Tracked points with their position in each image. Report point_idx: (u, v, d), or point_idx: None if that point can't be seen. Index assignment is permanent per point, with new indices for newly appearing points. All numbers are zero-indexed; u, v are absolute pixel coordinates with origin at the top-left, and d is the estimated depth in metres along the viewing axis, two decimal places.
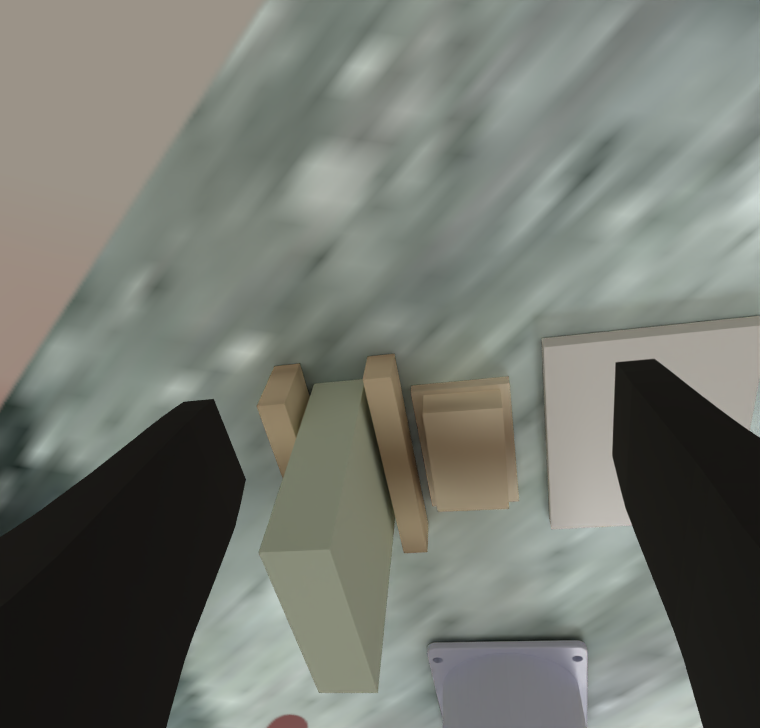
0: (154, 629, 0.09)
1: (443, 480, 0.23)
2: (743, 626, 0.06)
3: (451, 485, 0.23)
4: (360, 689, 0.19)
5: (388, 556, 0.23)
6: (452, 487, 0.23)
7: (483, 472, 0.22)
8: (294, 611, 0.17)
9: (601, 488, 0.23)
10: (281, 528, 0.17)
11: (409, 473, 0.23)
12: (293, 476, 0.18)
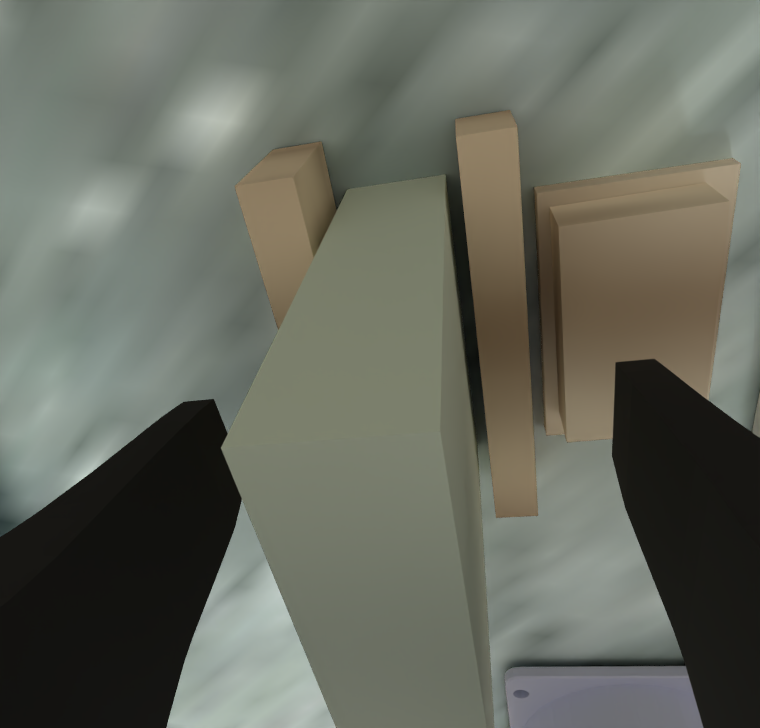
0: (154, 629, 0.09)
1: (584, 378, 0.12)
2: (743, 626, 0.06)
3: (599, 387, 0.12)
4: None
5: (481, 518, 0.13)
6: (600, 390, 0.12)
7: (665, 356, 0.12)
8: (320, 622, 0.07)
9: None
10: (288, 392, 0.06)
11: (525, 359, 0.12)
12: (315, 300, 0.08)
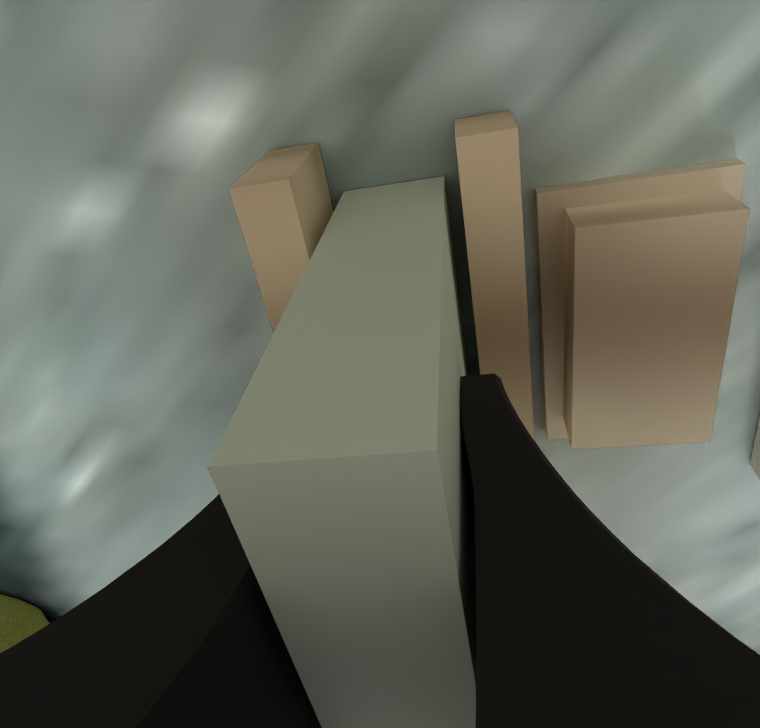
0: None
1: (593, 383, 0.12)
2: None
3: (607, 394, 0.12)
4: None
5: None
6: (608, 397, 0.12)
7: (676, 364, 0.12)
8: (313, 643, 0.06)
9: None
10: (279, 406, 0.06)
11: (526, 364, 0.12)
12: (309, 307, 0.08)
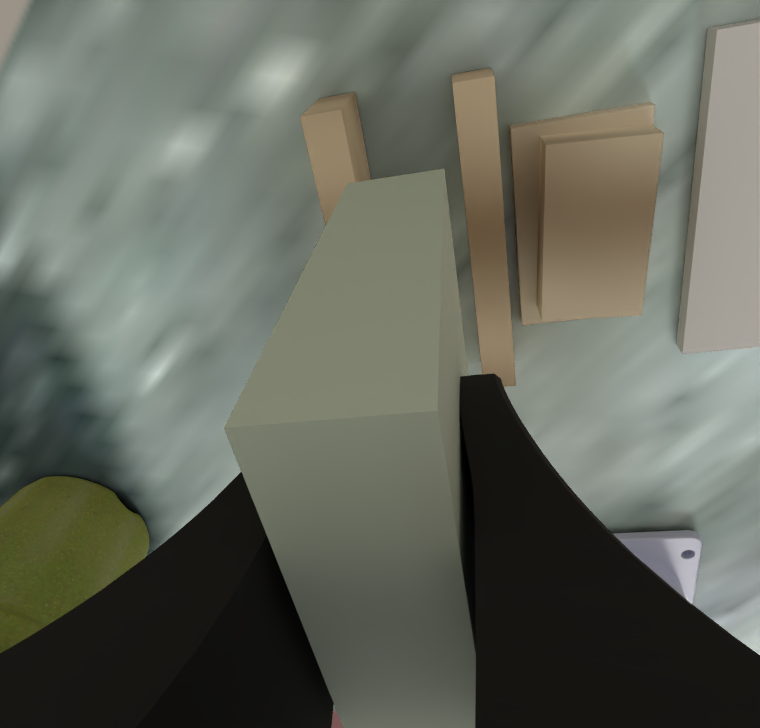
0: None
1: (557, 267, 0.17)
2: None
3: (567, 275, 0.17)
4: None
5: None
6: (568, 278, 0.17)
7: (616, 251, 0.16)
8: (320, 602, 0.07)
9: None
10: (290, 375, 0.06)
11: (503, 253, 0.16)
12: (316, 288, 0.08)
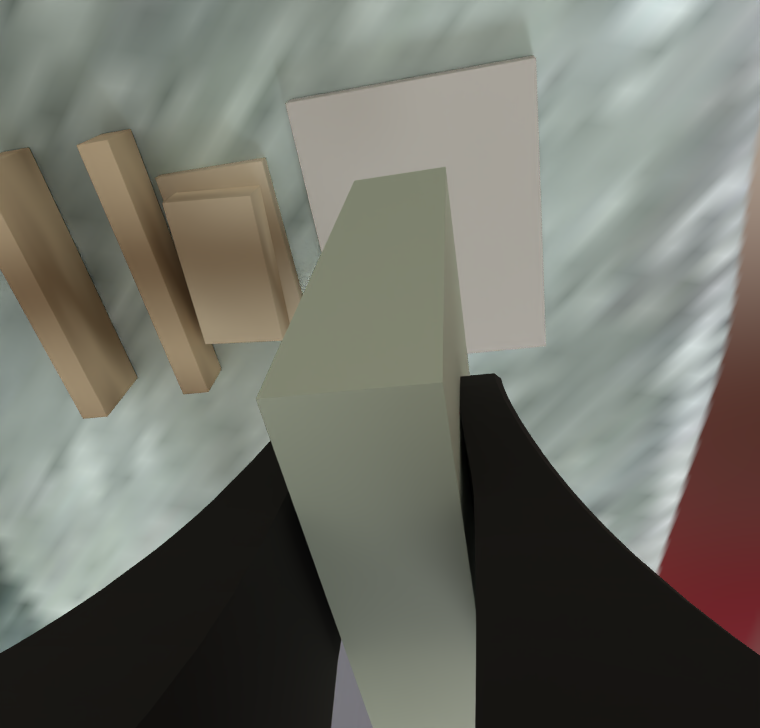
0: (319, 626, 0.08)
1: (203, 300, 0.20)
2: None
3: (213, 307, 0.20)
4: (458, 725, 0.10)
5: None
6: (214, 309, 0.20)
7: (245, 288, 0.19)
8: (337, 558, 0.08)
9: None
10: (311, 354, 0.07)
11: (161, 281, 0.20)
12: (330, 278, 0.09)
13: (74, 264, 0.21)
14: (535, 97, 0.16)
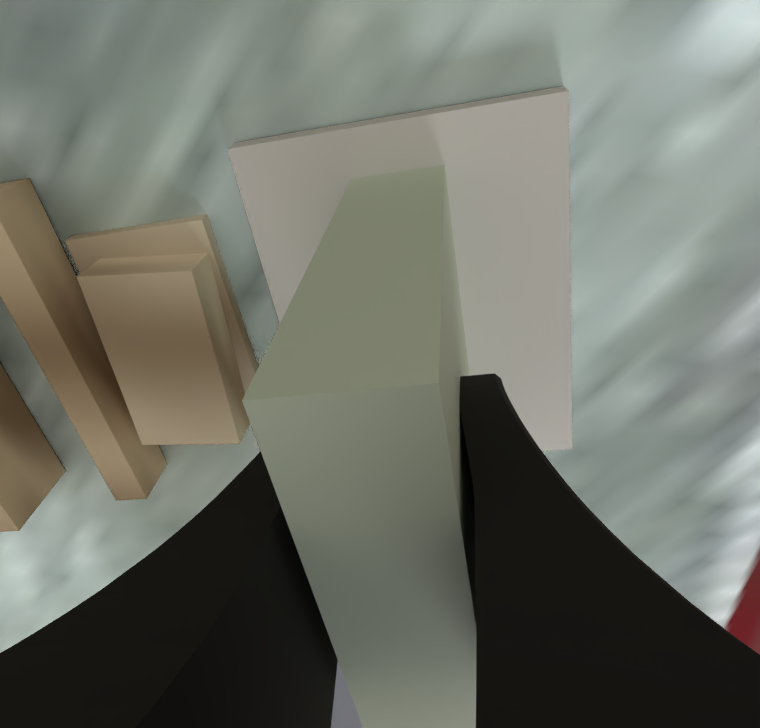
0: (319, 626, 0.08)
1: (136, 394, 0.15)
2: None
3: (150, 402, 0.16)
4: None
5: None
6: (152, 405, 0.16)
7: (190, 382, 0.15)
8: (329, 568, 0.07)
9: None
10: (301, 354, 0.07)
11: (76, 371, 0.15)
12: (324, 276, 0.08)
13: None
14: (566, 143, 0.12)
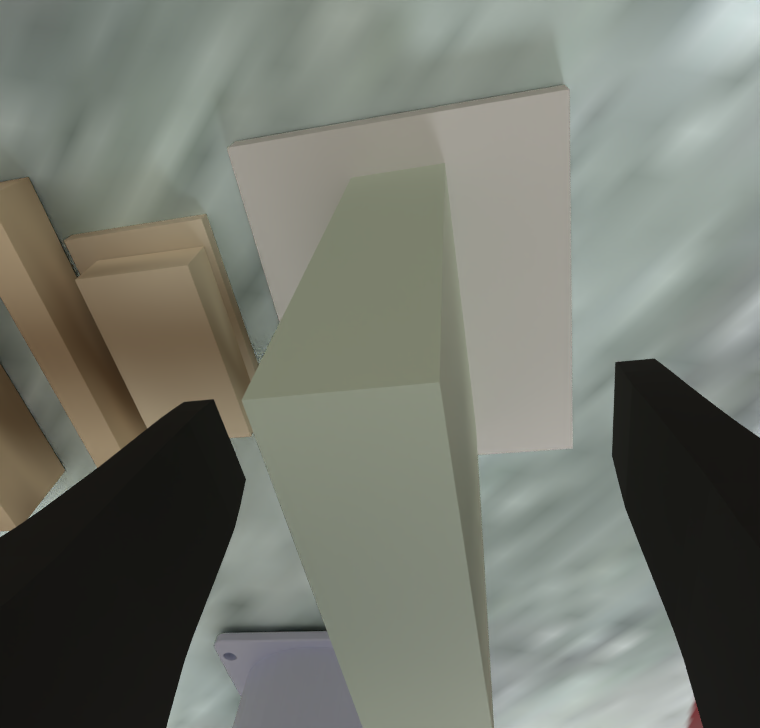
0: (154, 629, 0.09)
1: (144, 393, 0.15)
2: (743, 626, 0.06)
3: (158, 401, 0.16)
4: None
5: (479, 492, 0.13)
6: (160, 403, 0.16)
7: (196, 378, 0.15)
8: (329, 569, 0.07)
9: None
10: (301, 353, 0.07)
11: (76, 371, 0.15)
12: (324, 275, 0.08)
13: None
14: (567, 142, 0.12)
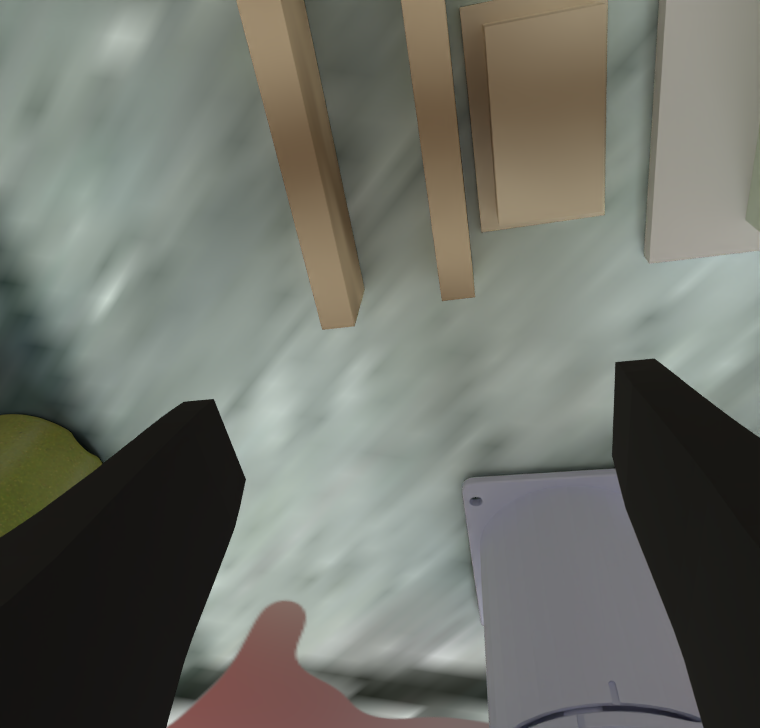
0: (154, 629, 0.09)
1: (509, 163, 0.16)
2: (743, 626, 0.06)
3: (521, 172, 0.16)
4: None
5: None
6: (522, 175, 0.16)
7: (569, 142, 0.16)
8: None
9: (730, 179, 0.16)
10: None
11: (455, 144, 0.16)
12: None
13: (328, 132, 0.17)
14: None
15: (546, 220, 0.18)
